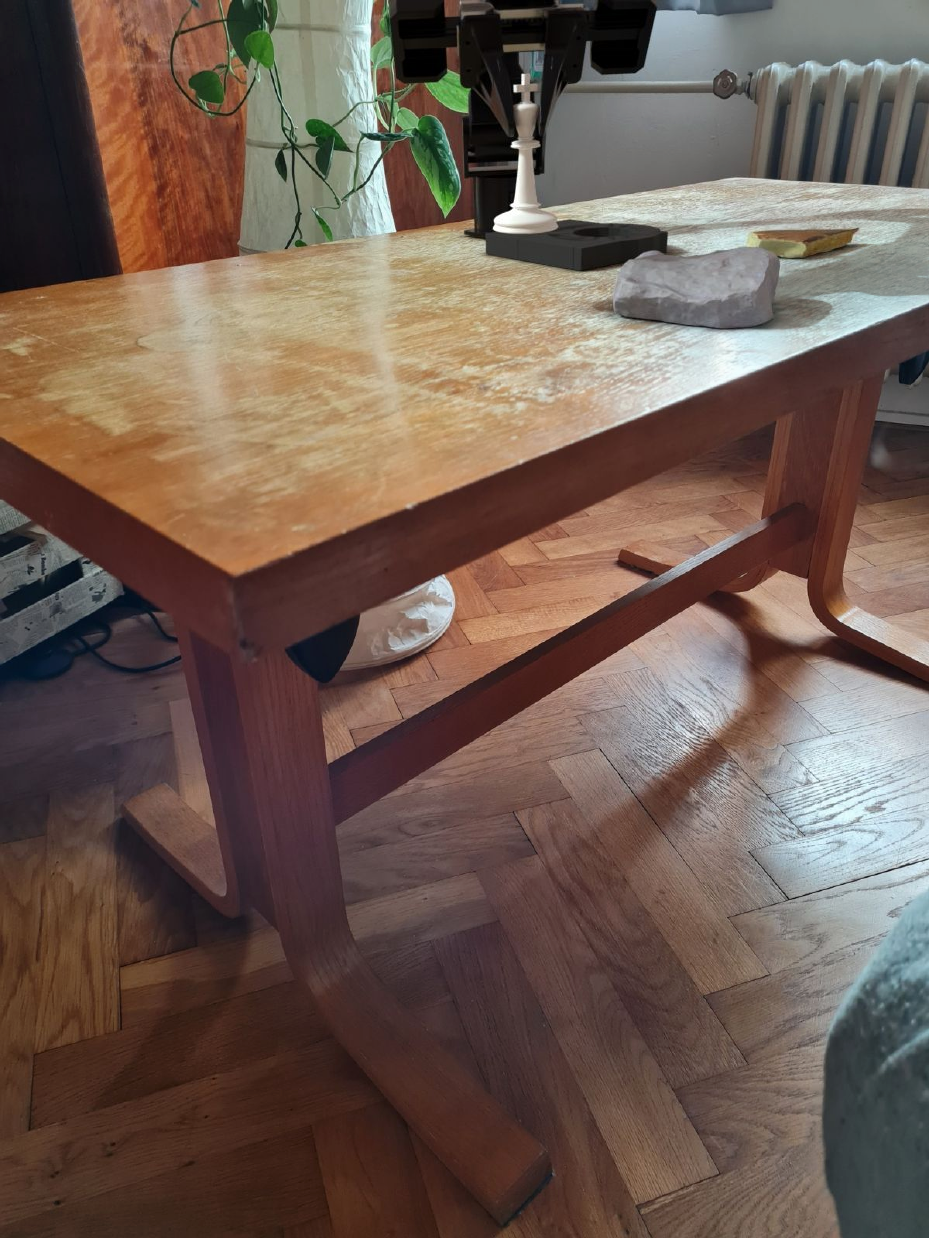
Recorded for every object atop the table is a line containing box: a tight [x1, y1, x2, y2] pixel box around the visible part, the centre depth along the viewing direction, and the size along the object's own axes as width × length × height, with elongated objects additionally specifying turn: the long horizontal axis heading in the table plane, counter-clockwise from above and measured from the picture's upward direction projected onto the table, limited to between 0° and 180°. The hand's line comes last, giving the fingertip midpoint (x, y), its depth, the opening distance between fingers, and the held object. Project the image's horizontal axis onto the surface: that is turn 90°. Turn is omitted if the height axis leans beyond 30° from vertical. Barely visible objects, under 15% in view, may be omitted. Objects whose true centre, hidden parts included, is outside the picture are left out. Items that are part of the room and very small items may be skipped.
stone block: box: [612, 246, 781, 329], centre depth 67 cm, size 12×5×10 cm
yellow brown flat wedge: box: [745, 227, 860, 259], centre depth 86 cm, size 11×8×2 cm
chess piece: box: [493, 73, 558, 234], centre depth 65 cm, size 5×5×10 cm
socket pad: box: [485, 218, 669, 272], centre depth 90 cm, size 15×14×2 cm
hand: (526, 131), depth 63 cm, fingers closed on chess piece
